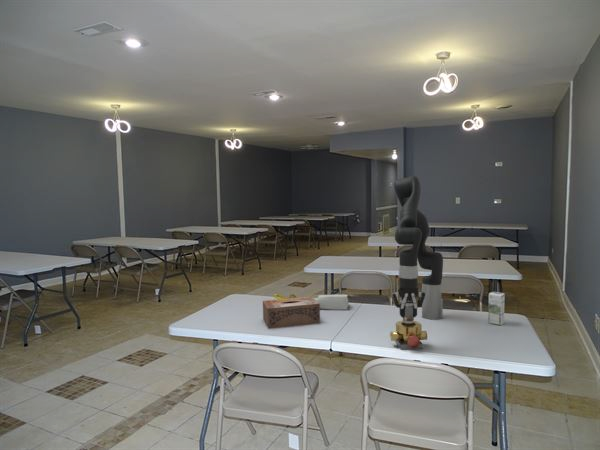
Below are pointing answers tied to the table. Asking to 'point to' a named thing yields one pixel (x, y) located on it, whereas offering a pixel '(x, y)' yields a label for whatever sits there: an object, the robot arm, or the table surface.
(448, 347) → the table surface
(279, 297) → the sprinkler
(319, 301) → the white flat block
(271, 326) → the tissue box cover
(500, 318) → the syrup box
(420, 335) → the valve
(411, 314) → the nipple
